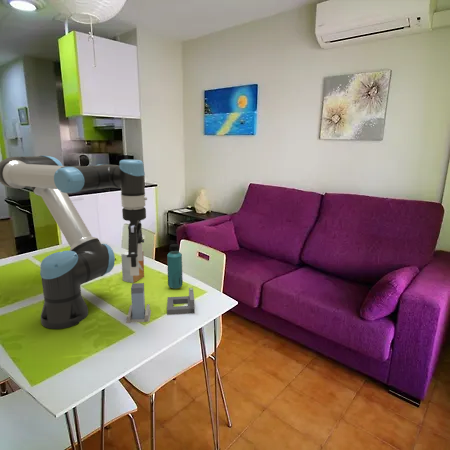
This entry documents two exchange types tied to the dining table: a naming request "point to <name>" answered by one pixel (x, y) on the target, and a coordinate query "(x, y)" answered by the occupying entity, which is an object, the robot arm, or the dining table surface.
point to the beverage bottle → (174, 267)
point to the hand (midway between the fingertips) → (137, 267)
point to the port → (181, 300)
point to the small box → (127, 269)
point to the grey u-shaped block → (146, 319)
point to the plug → (138, 300)
